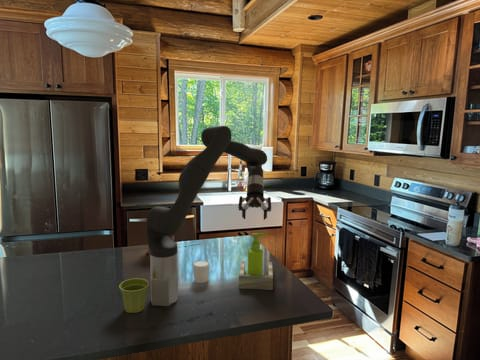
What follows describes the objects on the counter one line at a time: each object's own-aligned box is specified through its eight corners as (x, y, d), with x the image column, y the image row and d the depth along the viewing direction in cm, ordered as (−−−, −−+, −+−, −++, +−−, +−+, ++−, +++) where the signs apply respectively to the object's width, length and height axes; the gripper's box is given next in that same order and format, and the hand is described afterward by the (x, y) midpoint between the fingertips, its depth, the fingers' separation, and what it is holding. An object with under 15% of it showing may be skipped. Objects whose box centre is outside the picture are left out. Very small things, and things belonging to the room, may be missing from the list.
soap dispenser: (265, 285, 131) (266, 236, 128) (247, 285, 131) (248, 235, 128) (264, 279, 136) (265, 231, 134) (247, 278, 137) (248, 231, 134)
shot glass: (189, 281, 133) (189, 264, 132) (199, 275, 139) (199, 258, 138) (203, 285, 130) (203, 268, 129) (213, 278, 136) (213, 262, 135)
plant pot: (138, 298, 118) (138, 275, 117) (155, 308, 113) (154, 283, 111) (114, 309, 111) (113, 284, 110) (130, 319, 105) (129, 293, 104)
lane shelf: (272, 289, 127) (273, 277, 127) (238, 288, 128) (238, 275, 127) (271, 270, 145) (271, 259, 144) (241, 269, 145) (241, 258, 145)
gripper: (239, 182, 149) (237, 213, 140) (271, 182, 149) (271, 214, 139) (240, 191, 156) (238, 222, 146) (270, 192, 155) (270, 223, 145)
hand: (254, 218), depth 143 cm, fingers open, 8 cm apart
